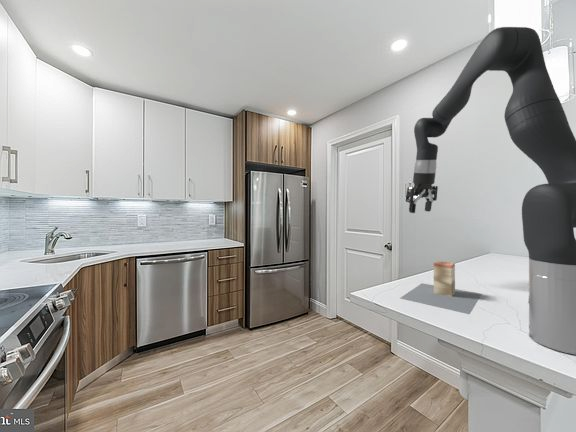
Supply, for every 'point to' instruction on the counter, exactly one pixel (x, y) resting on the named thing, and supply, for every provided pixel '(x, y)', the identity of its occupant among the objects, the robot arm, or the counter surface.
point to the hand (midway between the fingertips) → (419, 211)
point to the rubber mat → (443, 298)
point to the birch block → (444, 278)
